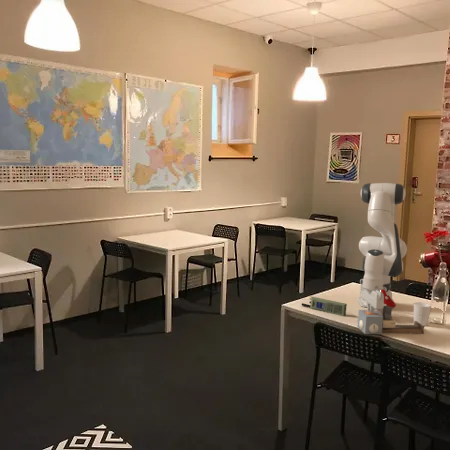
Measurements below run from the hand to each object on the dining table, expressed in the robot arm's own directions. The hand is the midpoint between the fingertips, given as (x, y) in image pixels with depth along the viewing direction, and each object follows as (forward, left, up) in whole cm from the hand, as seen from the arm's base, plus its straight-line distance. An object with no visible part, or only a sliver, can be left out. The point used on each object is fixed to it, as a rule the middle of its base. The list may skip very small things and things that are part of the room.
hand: (370, 312), depth 232 cm
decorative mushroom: (-19, +14, -9) cm, 25 cm away
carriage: (0, +8, -6) cm, 10 cm away
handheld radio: (-30, -14, -9) cm, 34 cm away
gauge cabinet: (0, 0, -9) cm, 9 cm away
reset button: (0, 0, -3) cm, 3 cm away
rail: (0, +15, -9) cm, 17 cm away
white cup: (-10, +31, -9) cm, 33 cm away
